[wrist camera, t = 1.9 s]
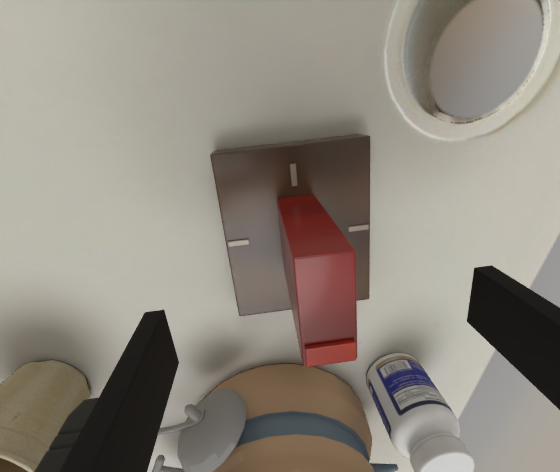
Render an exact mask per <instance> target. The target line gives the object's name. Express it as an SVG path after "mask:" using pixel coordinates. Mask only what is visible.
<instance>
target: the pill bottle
mask: <svg viewBox="0 0 560 472" xmlns="http://www.w3.org/2000/svg"><path fill="white" fill-rule="evenodd" d="M367 385H368V388H369V390H370V393H371V395H372V397H373V400H374V402H375V404H376V407H377V409H378V411H379V414H380V416H381V418H382V421H383V423H384V425H385V428H386V430H387V432H388V434H389V437H390V439H391V441H392V443H393V445H394V447H395V449H396V450H397V451H398V452H399V453H400V454H401V455H402V456H404V457H406V458H408V459H410V463H411V464H412V467H413V469H414V472H473V470H474V465H475V464H474V460H473V458H472V457H471V455H470V453H469V451H468V450H467V448H466V446H465V445H464V443H463V442H462V441H461V440H460V439H459V433H460V427H459V423H458V420H457V418H456V416H455V415H454V413H453V412H452V410H451V409H450V407H449V406H448V404H447V403H446V401H445V400H444V398H443V397H442V395H441V394H440V393H439V391H438V390H437V388H436V387H435V385H434V384H433V382H432V381H431V379H430V378H429V377H428V375H427V374H426V372H425V371H424V369H423V368H422V366H421V365H420V363H419V362H418V361H417V360H416V359H415V358H414V357H412V356H410V355H408V354H404V353H393V354H389V355H386V356H384V357H382V358H380V359H379V360H377V361H376V362H375V363H374V364H373V365H372V366H371V368H370V369H369V371H368V374H367Z"/></svg>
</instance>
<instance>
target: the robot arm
mask: <svg viewBox="0 0 560 472" xmlns="http://www.w3.org/2000/svg"><path fill="white" fill-rule="evenodd" d="M467 322H468V323H469V324H470V325H471V326H472V327H473V328H474V329H475V330H476V331H478V332H479V333H480V334H481V335H482V336H483V337H484V338H485V339H486V340H487V341H488V342H489V343H490V344H491V345H492V346H493V347H494V348H495V349H496V350H497V351H498V352H500V353H501V354H502V355H503V356H504V357H505V358H506V359H507V360H508V361H509V362H510V363H511V364H512V365H513V366H514V367H515V368H516V369H518V371H520V372H521V373H522V374H523V375H524V376H525V377H526V378H527V379H528V380H529V381H530V382H531V383H532V384H533V385H534V386H535V387H536V388H537V389H538V390H539V391H540V392H542V393H543V394H544V395H545V396H546V397H547V398H548V399H549V400H550V401H551V402H552V403H553V404H554V405H555V406H556V407H557V408H558V409H559V410H560V308H559V307H557V306H556V305H554V304H553V303H551V302H549V301H548V300H546V299H544V298H543V297H541V296H540V295H538V294H536V293H535V292H533V291H532V290H530V289H529V288H527V287H525V286H524V285H522V284H521V283H519V282H517V281H516V280H514V279H512V278H511V277H509V276H508V275H506V274H504V273H503V272H501V271H500V270H498V269H496V268H495V267H493V266H485V267H478V268H474V275H473V282H472V289H471V296H470V303H469V310H468V318H467ZM178 364H179V361H178V358H177V354H176V351H175V347H174V344H173V340H172V336H171V333H170V329H169V326H168V322H167V319H166V315H165V312H164V310H160V311H152V312H145V313H144V315H143V317H142V319H141V321H140V323H139V325H138V326H137V328H136V330H135V332H134V334H133V336H132V338H131V339H130V341H129V343H128V345H127V347H126V349H125V351H124V352H123V354H122V356H121V358H120V360H119V362H118V363H117V365H116V367H115V369H114V371H113V373H112V375H111V376H110V378H109V380H108V382H107V384H106V386H105V388H104V389H103V391H102V393H101V395H100V397H99V398H93V399H87V400H83V401H82V402H81V403H80V404H79V405H78V406H77V407H76V408H75V409H74V410H73V411H72V412H71V413H70V414H69V415H68V417H67V419H66V420H65V422H64V424H63V425H62V427H61V429H60V430H59V432H58V436H56V437H55V438H54V440H53V442H52V443H51V445H50V447H49V451H47V452H46V453H45V455H44V456H43V458H42V460H41V461H40V463H39V465H38V466H37V468H36V470H35V471H34V472H147V469H148V466H149V463H150V459H151V456H152V452H153V449H154V446H155V442H156V439H157V435H158V432H159V429H160V425H161V422H162V418H163V415H164V411H165V408H166V405H167V401H168V398H169V394H170V391H171V388H172V384H173V381H174V377H175V374H176V371H177V367H178Z"/></svg>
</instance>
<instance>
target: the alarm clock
mask: <svg viewBox="0 0 560 472" xmlns="http://www.w3.org/2000/svg"><path fill="white" fill-rule="evenodd" d="M185 414H186V415H187V416H188V418H187V420H186V422H184V423H181V424H178V425H175V426H170V427H165V428H160V429H159V432H158V435H161V434H166V433H171V432H176V431H179V430H181V429H182V431H181V434H180V437H179V442H178V457H179V460H180V462H181V465H182V467H183V469H180V468H173V467H167V466H163V463H164V460H165V459H164V456H163V455H159V456H158V457H157V459H156V462H155V465H154V467H153V470H152V472H394V471H397V470H398V467H397V465H396V464H373V463H369V460H370V455H371V446H372V436H371V433H370V429H369V426H368V422H367V419H366V416H365V414H364V411H363V408H362V405H361V403H360V400H359V399H358V397H357V396H356V395H355V393H354V392H353V391H352V389H351V388H350V387H349V386H348V385H347V384H346V383H344V382H343V381H341V380H340V379H339V378H337V377H336V376H334V375H333V374H331V373H328V372H326V371H323V370H320V369H317V368H315V367H307V366H304V365H296V364H277V365H265V366H261V367H258V368H254V369H251V370H248V371H244V372H241V373H239V374H237V375H235V376H233V377H232V378H230V379H228V380H226V381H224V382H223V383H221V384H219V385H218V386H217V387H216V388H215V389H214V390H213V391H212V392H211V393H210V394H209V395H208V396H207V397H205V398H204V399H203V400H202V401H200V402H199V403H198V405H197V406H196V407H195V406H194V405H191V404H190V405H187V406H186V407H185Z"/></svg>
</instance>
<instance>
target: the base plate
mask: <svg viewBox="0 0 560 472" xmlns="http://www.w3.org/2000/svg"><path fill="white" fill-rule="evenodd" d="M210 156H211V162H212V167H213V173H214V179H215V184H216V190H217V195H218V201H219V206H220V212H221V217H222V223H223V228H224V234H225V239H226V245H227V250H228V256H229V262H230V267H231V273H232V278H233V284H234V289H235V295H236V300H237V306H238V311H239V316H245V315H252V314H260V313H267V312H275V311H282V310H290V309H292V307H291V302H290V297H289V292H288V287H287V282H286V277H285V272H284V262H283V253H282V244H281V235H280V226H279V216H278V207H277V199H280V198H288V197H297V196H305V195H315V196H316V198H317V199H318V201H319V202H320V203H321V205H322V206H323V207H324V209H325V210H326V211H327V213H328V214H329V215H330V217H331V218H332V219H333V221H334V222H335V223H336V225H337V226H338V227H339V229H340V230H341V231H342V233H343V234H344V235H345V237H346V238H347V239H348V241H349V242H350V243H351V245H352V246H353V248H354V249H355V250H356V301H357V300H365V299H369V243H370V136H367V135H362V134H356V135H347V136H338V137H330V138H321V139H312V140H303V141H294V142H285V143H277V144H268V145H259V146H250V147H241V148H233V149H224V150H215V151H214V152H212V153H211V155H210Z"/></svg>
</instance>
